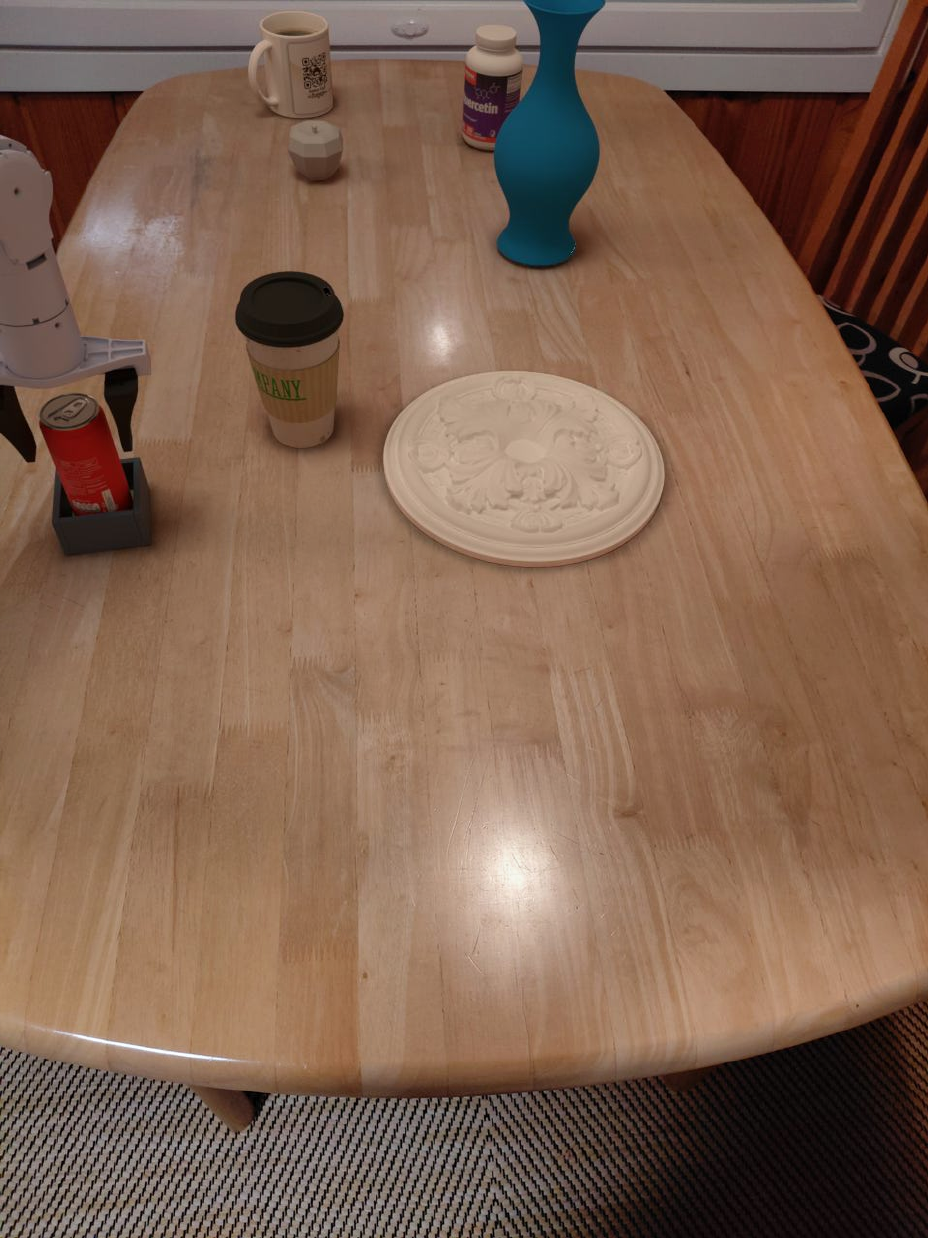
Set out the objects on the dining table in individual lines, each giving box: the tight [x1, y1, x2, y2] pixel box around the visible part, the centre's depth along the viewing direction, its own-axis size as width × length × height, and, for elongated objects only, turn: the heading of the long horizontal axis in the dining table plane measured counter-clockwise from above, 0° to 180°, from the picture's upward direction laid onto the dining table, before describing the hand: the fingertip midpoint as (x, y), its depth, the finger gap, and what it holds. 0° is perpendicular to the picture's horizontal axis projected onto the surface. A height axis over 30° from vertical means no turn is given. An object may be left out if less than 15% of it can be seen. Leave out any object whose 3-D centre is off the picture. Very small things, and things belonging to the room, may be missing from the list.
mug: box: [247, 10, 334, 119], centre depth 137 cm, size 10×12×11 cm
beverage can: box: [38, 392, 133, 516], centre depth 81 cm, size 5×5×12 cm
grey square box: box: [51, 456, 152, 556], centre depth 84 cm, size 7×7×4 cm
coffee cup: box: [234, 270, 345, 449], centre depth 89 cm, size 10×10×15 cm
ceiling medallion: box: [382, 370, 666, 568], centre depth 92 cm, size 28×28×3 cm
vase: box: [493, 0, 607, 268], centre depth 108 cm, size 12×13×28 cm
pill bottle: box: [461, 23, 524, 152], centre depth 132 cm, size 8×8×14 cm
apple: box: [287, 119, 344, 181], centre depth 126 cm, size 8×8×7 cm
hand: (80, 449), depth 77 cm, fingers open, 7 cm apart
